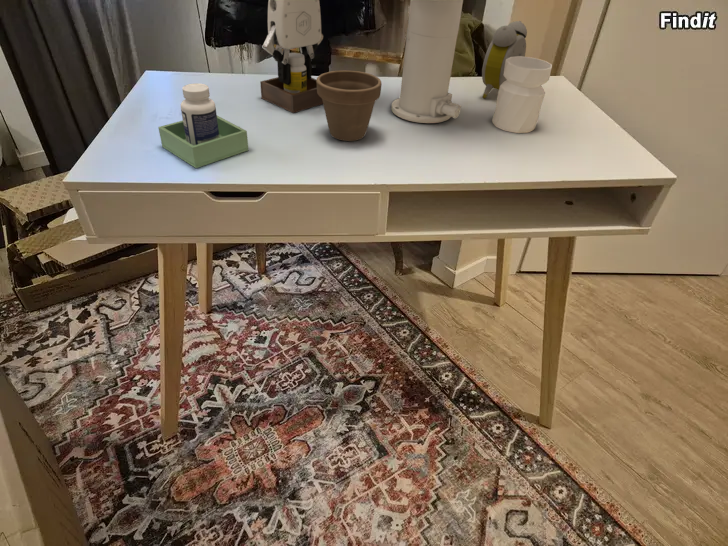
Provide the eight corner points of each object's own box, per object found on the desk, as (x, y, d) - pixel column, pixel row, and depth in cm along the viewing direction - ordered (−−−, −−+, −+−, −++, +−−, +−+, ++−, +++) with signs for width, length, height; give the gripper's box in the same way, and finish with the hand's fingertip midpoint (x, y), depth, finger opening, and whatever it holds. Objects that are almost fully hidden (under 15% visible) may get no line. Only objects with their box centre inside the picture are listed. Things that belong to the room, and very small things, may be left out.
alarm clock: (496, 85, 120) (511, 17, 111) (523, 92, 117) (541, 23, 108) (475, 98, 112) (489, 25, 103) (503, 105, 110) (520, 32, 100)
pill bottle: (226, 142, 86) (220, 85, 80) (209, 155, 82) (200, 95, 76) (199, 136, 87) (190, 79, 81) (180, 148, 83) (170, 89, 77)
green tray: (248, 150, 85) (246, 130, 83) (195, 168, 79) (192, 147, 77) (214, 131, 90) (211, 112, 88) (162, 146, 84) (158, 126, 82)
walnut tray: (330, 101, 105) (330, 84, 103) (293, 113, 99) (292, 95, 97) (298, 88, 110) (298, 72, 108) (261, 98, 104) (260, 81, 102)
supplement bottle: (305, 102, 103) (304, 59, 97) (282, 101, 103) (280, 58, 97) (308, 94, 106) (307, 52, 101) (285, 92, 106) (284, 51, 101)
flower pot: (316, 121, 97) (316, 67, 90) (374, 122, 98) (378, 69, 91) (316, 146, 88) (316, 89, 81) (380, 148, 89) (385, 91, 83)
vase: (522, 137, 97) (539, 73, 89) (483, 123, 101) (497, 61, 94) (542, 125, 102) (561, 64, 94) (505, 112, 106) (519, 53, 99)
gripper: (268, -15, 84) (274, 94, 95) (340, -22, 94) (337, 77, 105) (241, -22, 88) (249, 83, 99) (313, -29, 98) (313, 68, 109)
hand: (295, 79), depth 102 cm, fingers closed on supplement bottle, 4 cm apart
